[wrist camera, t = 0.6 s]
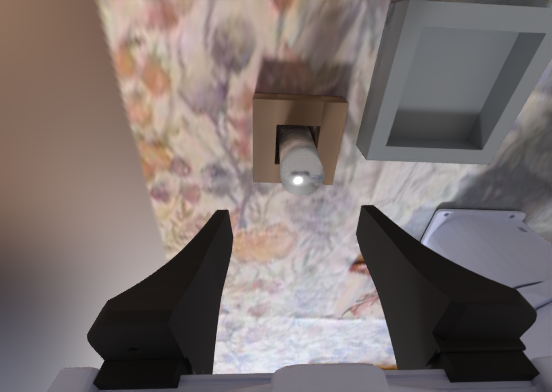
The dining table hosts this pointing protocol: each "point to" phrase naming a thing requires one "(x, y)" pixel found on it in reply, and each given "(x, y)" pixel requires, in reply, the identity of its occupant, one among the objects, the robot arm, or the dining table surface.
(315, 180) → the pin
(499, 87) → the tray
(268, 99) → the frame
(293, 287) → the dining table surface
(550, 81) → the dining table surface
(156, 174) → the dining table surface
